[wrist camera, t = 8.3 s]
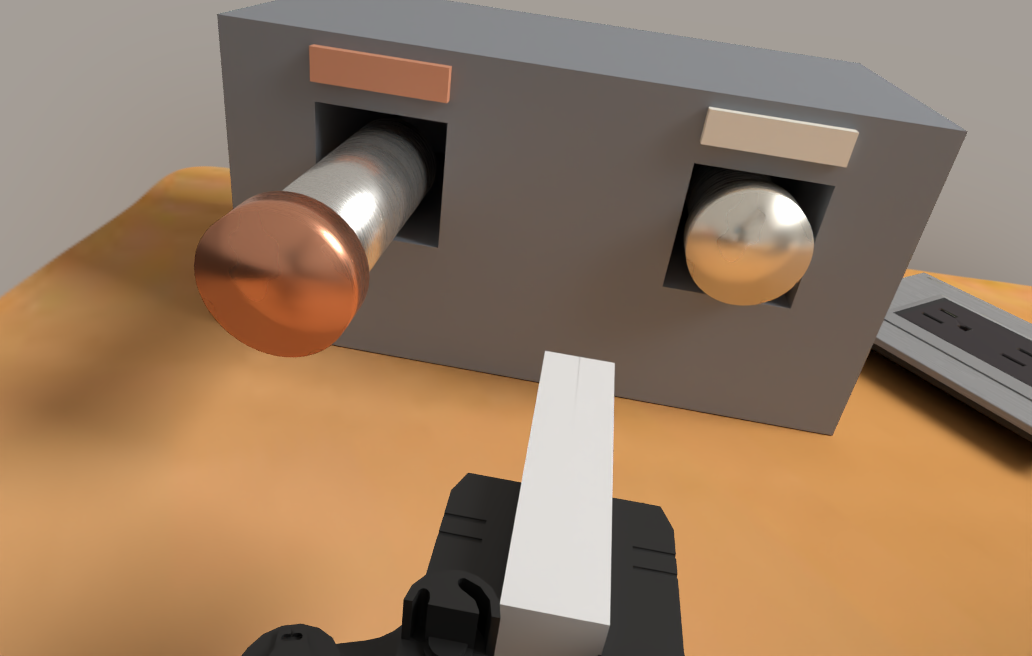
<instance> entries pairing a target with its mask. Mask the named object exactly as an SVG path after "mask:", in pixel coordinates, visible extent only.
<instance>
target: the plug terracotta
mask: <svg viewBox="0 0 1032 656" xmlns="http://www.w3.org/2000/svg"><path fill="white" fill-rule="evenodd" d="M436 171H437V162H436V157H435V153H434V150H433V148H432V146H431V144H430V142H429V140H428V139H427V138H426V136H425V135H424V134H423V133H422V132H421V131H420V130H419V129H418V128H416V127H415V126H413V125H412V124H410V123H408V122H406V121H403V120H400V119H396V118H381V119H377V120H374V121H372V122H370V123H368V124H366V125H365V126H364V127H362V128H361V129H360V130H359V131H357V132H356V133H355V134H353V135H352V136H351V137H350V138H348V139H347V140H346V141H345V142H343V143H342V144H341V145H339V146H338V147H337V148H336V149H334V150H333V151H332V152H331V153H329V154H328V155H327V156H325V157H324V158H323V159H322V160H320V161H319V162H318V163H317V164H315V165H314V166H313V167H311V168H310V169H309V170H308V171H306V172H305V173H304V174H303V175H301V176H300V177H299V178H297V179H296V180H295V181H294V182H292V183H291V184H290V185H289V186H287V187H286V188H285V189H283V190H282V191H270V192H264V193H261V194H258V195H255V196H252V197H250V198H249V199H247V200H245V201H244V202H242V203H241V204H240V205H238V206H237V207H236V208H234V209H233V210H231V211H230V212H229V213H227V214H226V215H225V216H223V217H222V218H221V219H219V220H218V221H217V222H215V223H214V224H212V225H211V226H210V228H209V229H208V230H207V231H206V232H205V233H204V235H203V236H202V238H201V240H200V242H199V244H198V246H197V250H196V254H195V262H194V270H195V278H196V284H197V287H198V290H199V293H200V295H201V297H202V300H203V302H204V303H205V305H206V307H207V309H208V310H209V312H210V313H211V314H212V316H213V317H214V318H215V320H216V321H217V322H218V323H219V324H220V325H221V326H222V327H223V328H224V329H225V330H226V331H227V332H228V333H230V334H231V335H232V336H234V337H235V338H236V339H238V340H239V341H241V342H242V343H244V344H246V345H247V346H250V347H252V348H254V349H256V350H258V351H261V352H264V353H267V354H271V355H275V356H282V357H302V356H308V355H312V354H315V353H318V352H320V351H322V350H324V349H326V348H328V347H329V346H331V345H332V344H333V343H334V342H335V341H336V340H337V339H338V338H339V337H340V336H341V335H342V333H343V332H344V330H345V329H346V328H347V326H348V325H349V323H350V322H351V320H352V319H353V317H354V316H355V315H356V313H357V312H358V310H359V309H360V307H361V305H362V304H363V302H364V300H365V298H366V295H367V292H368V288H369V279H370V276H369V272H370V270H371V269H372V268H373V266H374V265H375V263H376V262H377V261H378V259H379V258H380V257H381V255H382V254H383V253H384V251H385V250H386V248H387V247H388V246H389V244H390V243H391V242H392V240H393V239H394V238H395V236H396V235H397V234H398V232H399V231H400V229H401V228H402V227H403V225H404V224H405V223H406V221H407V220H408V219H409V217H410V216H411V214H412V213H413V212H414V210H415V209H416V208H417V206H418V205H419V204H420V202H421V201H422V199H423V198H424V197H425V195H426V194H427V193H428V191H429V190H430V188H431V187H432V185H433V183H434V180H435V177H436Z"/></svg>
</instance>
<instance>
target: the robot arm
mask: <svg viewBox="0 0 1032 656" xmlns="http://www.w3.org/2000/svg"><path fill="white" fill-rule="evenodd" d="M614 375H615V363H612V362H606V361H600V360H595V359H589V358H583V357H578V356H572V355H566V354H561V353H555V352H549V351H545V355H544V360H543V366H542V371H541V377H540V382H539V388H538V394H537V399H536V405H535V410H534V416H533V422H532V427H531V433H530V438H529V444H528V449H527V455H526V461H525V466H524V472H523V477H522V483H521V482H516V481H510V480H505V479H499V478H494V477H489V476H483V475H478V474H472V473H468V474H467V475H466V476H465V477H464V478H463V479H462V480H461V481H460V482H459V483H458V484H457V485H456V486H455V487H454V488H453V489H452V490H451V493H450V496H449V499H448V503H447V506H446V509H445V513H444V517H443V520H442V523H441V526H440V530H439V534H438V536H437V540H436V543H435V546H434V550H433V553H432V556H431V560H430V563H429V566H428V570H427V573H426V575H425V576H424V577H422V578H421V579H420V580H418V581H417V582H416V583H414V584H413V585H412V586H411V588H410V590H409V591H408V593H407V595H406V596H405V598H404V602H403V617H402V625H401V626H400V627H399V628H397V629H396V630H395V631H393V632H391V633H389V634H386V635H384V636H382V637H380V638H375V639H371V640H366V641H358V642H349V643H340V644H335V642H334V640H333V638H332V637H331V636H329V635H328V634H326V633H325V632H324V631H322V630H321V629H320V628H317V627H313V626H308V625H304V624H295V625H286V626H281V627H278V628H276V629H274V630H272V631H269V632H267V633H265V634H263V635H262V636H261V637H260V638H258V639H257V640H256V641H255V642H254V643H253V644H252V645H250V646H249V647H248V648H247V650H246V651H245V652H244V653H243V654H242V656H685V655H684V648H683V636H682V624H681V612H680V600H679V588H678V579H677V564H676V559H675V555H676V552H675V540H674V530H673V528H672V526H671V524H670V522H669V521H668V519H667V517H666V515H665V514H664V512H663V510H662V508H661V507H660V506H655V505H649V504H644V503H639V502H633V501H628V500H622V499H617V498H612V486H613V431H614Z"/></svg>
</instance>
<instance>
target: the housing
mask: <svg viewBox="0 0 1032 656" xmlns="http://www.w3.org/2000/svg"><path fill="white" fill-rule="evenodd" d="M217 16H218V29H219V41H220V53H221V65H222V78H223V89H224V103H225V114H226V127H227V139H228V150H229V163H230V176H231V188H232V201H233V209H234V208H236V207H237V206H238V205H240V204H241V203H242V202H244V201H245V200H247V199H249V198H250V197H252V196H255V195H258V194H261V193H264V192H270V191H282V190H283V189H285V188H286V187H287V186H289V185H290V184H291V183H292V182H294V181H295V180H296V179H297V178H299V177H300V176H301V175H303V174H304V173H305V172H306V171H308V170H309V169H310V168H311V167H313V166H314V165H315V164H317V163H318V162H319V161H320V160H322V159H323V158H324V157H325V156H327V155H328V154H329V153H331V152H332V151H333V150H334V149H336V148H337V147H338V146H339V145H341V144H342V143H343V142H345V141H346V140H347V139H348V138H350V137H351V136H352V135H353V134H355V133H356V132H357V131H359V130H360V129H361V128H362V127H364V126H365V125H366V124H368V123H370V122H372V121H374V120H377V119H381V118H396V119H400V120H403V121H406V122H408V123H410V124H412V125H413V126H415V127H416V128H418V129H419V130H420V131H421V132H422V133H423V134H424V135H425V136H426V138H427V139H428V140H429V142H430V144H431V146H432V148H433V150H434V153H435V157H436V162H437V171H436V177H435V180H434V183H433V185H432V187H431V188H430V190H429V191H428V193H427V194H426V195H425V197H424V198H423V199H422V201H421V202H420V204H419V205H418V206H417V208H416V209H415V210H414V212H413V213H412V214H411V216H410V217H409V219H408V220H407V221H406V223H405V224H404V225H403V227H402V228H401V229H400V231H399V232H398V234H397V235H396V236H395V238H394V239H393V240H392V242H391V243H390V244H389V246H388V247H387V248H386V250H385V251H384V253H383V254H382V255H381V257H380V258H379V259H378V261H377V262H376V263H375V265H374V266H373V268H372V269H371V270H370V272H369V276H370V279H369V288H368V292H367V295H366V298H365V300H364V302H363V304H362V305H361V307H360V309H359V310H358V312H357V313H356V315H355V316H354V317H353V319H352V320H351V322H350V323H349V325H348V326H347V328H346V329H345V330H344V332H343V333H342V335H341V336H340V337H339V338H338V339H337V340H336V341H335V342H334V343H333V344H332V345H336V346H342V347H348V348H353V349H359V350H364V351H370V352H375V353H381V354H386V355H392V356H397V357H403V358H408V359H414V360H419V361H425V362H430V363H436V364H441V365H447V366H452V367H458V368H463V369H469V370H474V371H480V372H485V373H491V374H496V375H502V376H507V377H513V378H518V379H524V380H529V381H535V382H540V377H541V371H542V366H543V360H544V355H545V351H549V352H555V353H561V354H566V355H572V356H578V357H583V358H589V359H595V360H600V361H606V362H612V363H615V375H614V396H618V397H623V398H629V399H634V400H640V401H645V402H651V403H656V404H662V405H667V406H673V407H678V408H684V409H689V410H695V411H700V412H706V413H711V414H717V415H722V416H728V417H733V418H739V419H744V420H750V421H756V422H761V423H767V424H772V425H778V426H783V427H789V428H794V429H800V430H805V431H811V432H816V433H822V434H827V435H833V433H834V431H835V429H836V426H837V424H838V422H839V420H840V417H841V415H842V413H843V411H844V408H845V406H846V404H847V402H848V399H849V397H850V395H851V393H852V390H853V388H854V386H855V384H856V381H857V379H858V377H859V375H860V372H861V370H862V368H863V366H864V363H865V361H866V359H867V357H868V354H869V352H870V350H871V348H872V345H873V343H874V341H875V339H876V336H877V334H878V332H879V330H880V327H881V325H882V323H883V321H884V318H885V316H886V314H887V312H888V309H889V307H890V305H891V303H892V300H893V298H894V296H895V294H896V291H897V289H898V287H899V285H900V282H901V280H902V278H903V276H904V273H905V271H906V269H907V267H908V264H909V262H910V260H911V258H912V255H913V253H914V251H915V249H916V246H917V244H918V242H919V240H920V237H921V235H922V233H923V231H924V228H925V226H926V224H927V222H928V219H929V217H930V215H931V213H932V210H933V208H934V206H935V204H936V201H937V199H938V197H939V194H940V193H941V190H942V188H943V186H944V183H945V181H946V179H947V177H948V174H949V172H950V170H951V168H952V165H953V163H954V161H955V159H956V157H957V154H958V152H959V150H960V147H961V145H962V143H963V141H964V139H965V136H966V134H967V131H966V130H964V129H963V128H961V127H960V126H958V125H956V124H955V123H953V122H952V121H950V120H949V119H947V118H945V117H944V116H942V115H940V114H939V113H937V112H936V111H934V110H933V109H931V108H929V107H928V106H926V105H925V104H923V103H921V102H920V101H918V100H917V99H915V98H914V97H912V96H910V95H909V94H907V93H906V92H904V91H903V90H901V89H899V88H898V87H896V86H895V85H893V84H892V83H890V82H888V81H887V80H885V79H884V78H882V77H880V76H879V75H877V74H876V73H874V72H873V71H871V70H869V69H868V68H866V67H865V66H863V65H861V64H860V63H854V62H847V61H841V60H833V59H828V58H821V57H814V56H807V55H801V54H795V53H788V52H782V51H775V50H768V49H762V48H755V47H749V46H742V45H736V44H729V43H723V42H716V41H709V40H702V39H696V38H690V37H683V36H676V35H670V34H664V33H656V32H650V31H644V30H637V29H631V28H624V27H617V26H611V25H605V24H598V23H591V22H584V21H578V20H572V19H565V18H559V17H551V16H546V15H539V14H532V13H526V12H519V11H512V10H506V9H499V8H493V7H487V6H480V5H473V4H467V3H460V2H454V1H447V0H276V1H272V2H267V3H263V4H259V5H255V6H251V7H246V8H241V9H237V10H233V11H229V12H225V13H220V14H217ZM694 163H697V164H703V165H709V166H715V167H721V168H728V169H734V170H740V171H746V172H752V173H758V174H765V175H769V176H770V178H771V179H772V181H773V183H774V184H777V185H778V186H780V187H782V188H784V189H785V190H786V191H788V192H789V193H790V194H791V195H792V196H793V197H794V199H795V200H796V201H797V203H798V204H799V206H800V208H801V209H802V211H803V213H804V214H805V216H806V218H807V220H808V222H809V223H810V226H811V229H812V232H813V238H814V249H813V255H812V259H811V262H810V264H809V266H808V269H807V270H806V272H805V274H804V275H803V276H802V278H801V279H800V280H799V281H798V283H796V284H795V285H794V286H793V287H792V288H791V289H790V290H789V291H787V292H786V293H784V294H783V295H781V296H779V297H777V298H775V299H773V300H771V301H768V302H765V303H761V304H756V305H732V304H727V303H724V302H721V301H718V300H716V299H714V298H712V297H710V296H709V295H707V294H706V293H705V292H704V291H702V290H701V289H700V288H699V287H698V285H697V284H696V283H695V282H694V280H693V278H692V277H691V274H690V272H689V270H688V266H687V261H686V255H685V249H684V241H683V238H684V229H685V224H686V221H687V219H688V216H689V214H688V209H687V204H686V199H685V197H686V193H687V189H688V185H689V182H690V178H691V174H692V170H693V166H694Z"/></svg>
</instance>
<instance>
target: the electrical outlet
mask: <svg viewBox="0 0 1032 656" xmlns="http://www.w3.org/2000/svg"><path fill="white" fill-rule="evenodd" d="M872 349H873V350H875V351H877V352H878V353H880V354H882V355H883V356H885V357H887V358H889V359H890V360H892V361H894V362H895V363H897V364H899V365H900V366H902V367H904V368H906V369H907V370H909V371H911V372H912V373H914V374H916V375H917V376H919V377H921V378H923V379H924V380H926V381H928V382H929V383H931V384H933V385H935V386H936V387H938V388H940V389H941V390H943V391H945V392H946V393H948V394H950V395H952V396H953V397H955V398H957V399H958V400H960V401H962V402H963V403H965V404H967V405H969V406H970V407H972V408H974V409H975V410H977V411H979V412H980V413H982V414H984V415H986V416H987V417H989V418H991V419H992V420H994V421H996V422H997V423H999V424H1001V425H1003V426H1004V427H1006V428H1008V429H1009V430H1011V431H1013V432H1014V433H1016V434H1018V435H1020V436H1021V437H1023V438H1025V439H1026V440H1028V441H1030V442H1031V443H1032V324H1031V323H1029V322H1027V321H1025V320H1022V319H1020V318H1018V317H1016V316H1014V315H1012V314H1010V313H1008V312H1006V311H1004V310H1002V309H999V308H997V307H995V306H993V305H991V304H989V303H987V302H985V301H983V300H981V299H978V298H976V297H974V296H972V295H970V294H968V293H966V292H964V291H962V290H960V289H957V288H955V287H953V286H951V285H949V284H947V283H945V282H943V281H941V280H939V279H937V278H934V277H932V276H930V275H928V274H926V273H921V274H917V275H913V276H909V277H905V278H902V280H901V282H900V285H899V287H898V289H897V291H896V294H895V296H894V298H893V300H892V303H891V305H890V307H889V309H888V312H887V314H886V316H885V318H884V321H883V323H882V325H881V327H880V330H879V332H878V334H877V336H876V339H875V341H874V343H873V345H872Z"/></svg>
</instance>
